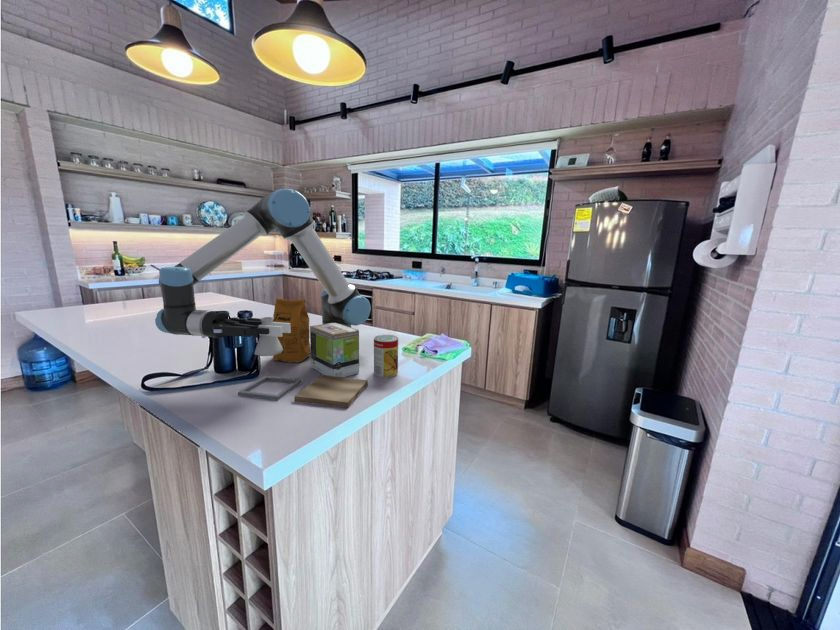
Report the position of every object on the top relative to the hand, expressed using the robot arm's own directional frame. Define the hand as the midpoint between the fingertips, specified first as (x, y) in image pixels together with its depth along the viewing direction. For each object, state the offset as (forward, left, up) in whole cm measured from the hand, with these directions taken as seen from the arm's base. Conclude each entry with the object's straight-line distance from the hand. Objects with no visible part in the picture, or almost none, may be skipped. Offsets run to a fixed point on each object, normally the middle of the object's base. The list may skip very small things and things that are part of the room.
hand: (285, 329), depth 90 cm
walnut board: (-2, +13, -18) cm, 22 cm away
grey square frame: (0, -5, -18) cm, 19 cm away
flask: (0, -5, -7) cm, 9 cm away
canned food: (-20, +23, -18) cm, 35 cm away
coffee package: (-25, -14, -18) cm, 34 cm away
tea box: (-18, +6, -18) cm, 26 cm away
